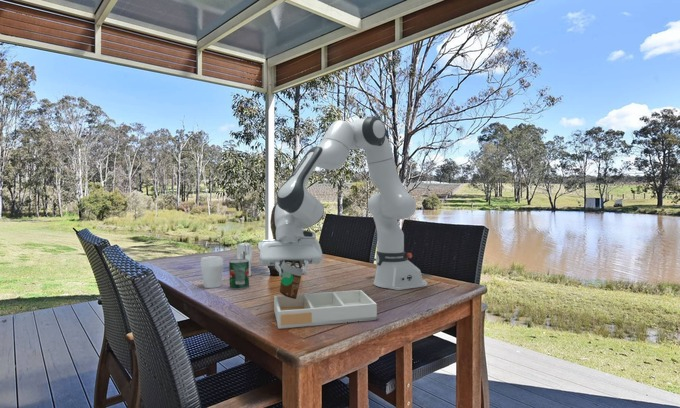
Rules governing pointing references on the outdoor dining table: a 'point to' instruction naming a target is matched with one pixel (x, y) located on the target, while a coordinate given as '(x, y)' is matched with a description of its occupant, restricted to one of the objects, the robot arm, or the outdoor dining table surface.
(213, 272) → the cup
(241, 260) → the canned tomato
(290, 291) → the food container
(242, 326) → the outdoor dining table surface
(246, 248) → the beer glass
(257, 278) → the outdoor dining table surface
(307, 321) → the tray
